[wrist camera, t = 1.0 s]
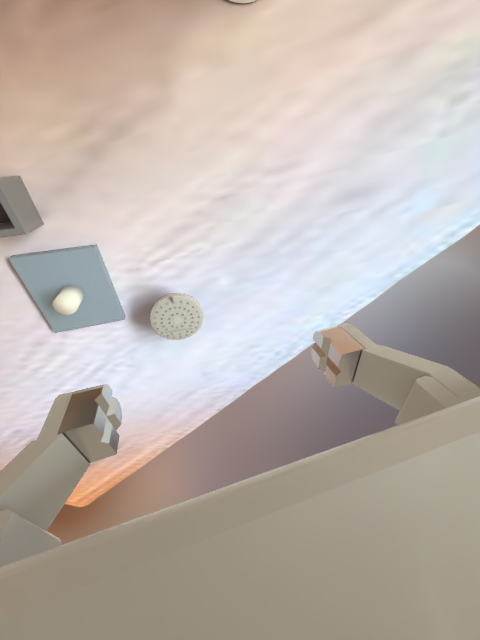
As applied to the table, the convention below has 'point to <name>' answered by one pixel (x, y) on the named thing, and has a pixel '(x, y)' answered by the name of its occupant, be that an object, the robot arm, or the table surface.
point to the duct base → (65, 273)
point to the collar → (17, 208)
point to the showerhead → (176, 316)
